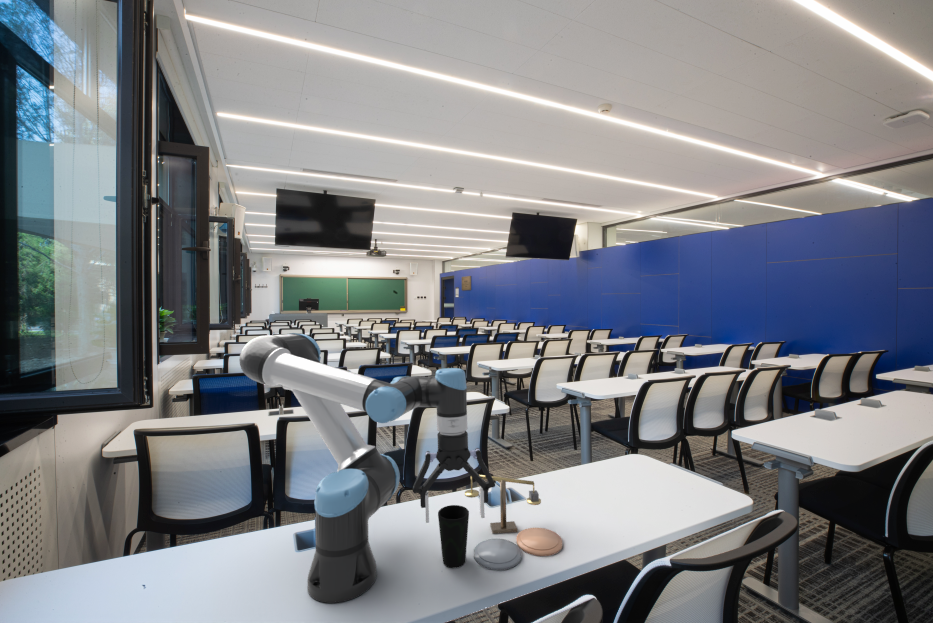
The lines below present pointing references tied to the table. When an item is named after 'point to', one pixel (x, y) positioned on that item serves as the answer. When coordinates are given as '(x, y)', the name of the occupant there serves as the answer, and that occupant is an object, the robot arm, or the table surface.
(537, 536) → the dish far
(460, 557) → the cup
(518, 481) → the balance
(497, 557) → the dish near
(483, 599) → the table surface
